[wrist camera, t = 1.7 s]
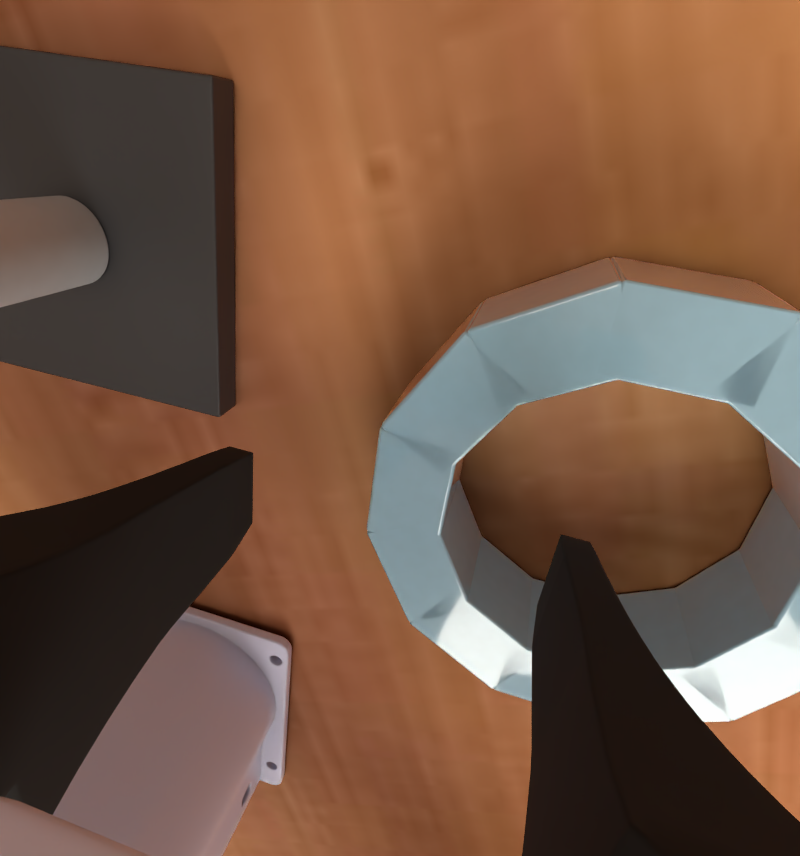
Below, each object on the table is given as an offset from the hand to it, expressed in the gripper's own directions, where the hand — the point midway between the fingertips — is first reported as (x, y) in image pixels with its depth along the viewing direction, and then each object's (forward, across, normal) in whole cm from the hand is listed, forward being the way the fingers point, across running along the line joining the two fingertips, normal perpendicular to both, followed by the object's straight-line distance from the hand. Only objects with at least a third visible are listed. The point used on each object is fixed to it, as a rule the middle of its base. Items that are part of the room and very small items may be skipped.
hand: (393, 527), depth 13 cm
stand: (+5, +11, -4) cm, 13 cm away
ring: (+5, -5, 0) cm, 7 cm away
